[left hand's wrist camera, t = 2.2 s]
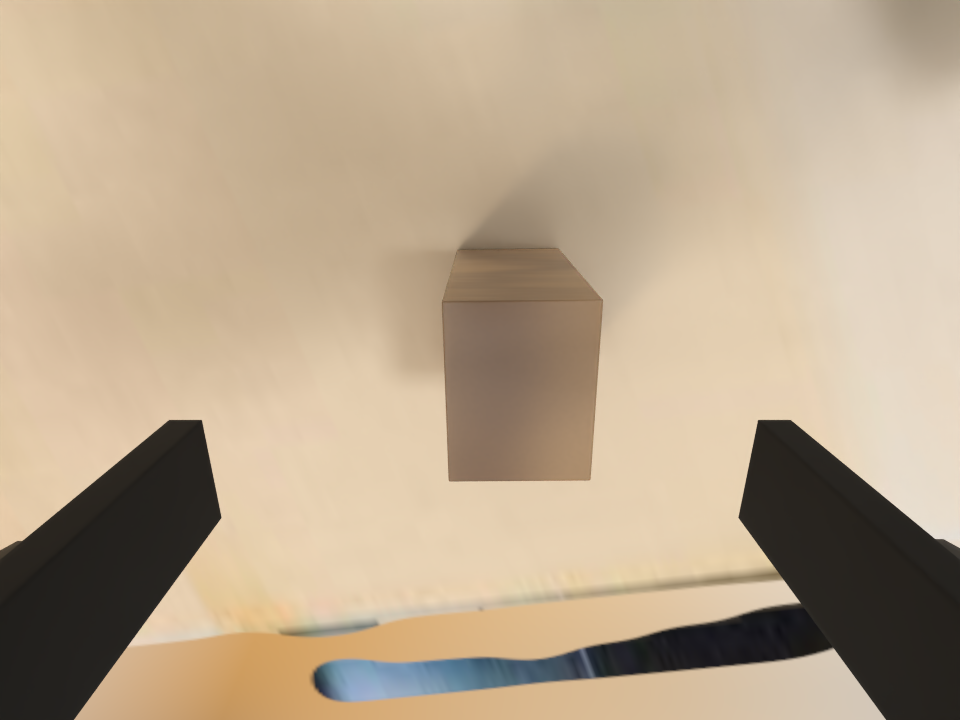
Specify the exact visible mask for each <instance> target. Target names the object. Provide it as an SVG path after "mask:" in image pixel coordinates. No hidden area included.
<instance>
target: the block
mask: <svg viewBox="0 0 960 720" xmlns="http://www.w3.org/2000/svg"><path fill="white" fill-rule="evenodd" d="M602 307H603V300H602V299H601V297H600V296H599V295H598V294H597V293H596V292H595V290H594V289H593V288H592V287H591V286H590V285H589V283H588V282H587V281H586V280H585V279H584V278H583V277H582V275H581V274H580V273H579V272H578V271H577V270H576V268H575V267H574V266H573V265H572V264H571V263H570V261H569V260H568V259H567V258H566V257H565V256H564V254H563V253H562V252H561V251H560V250H559V249H481V250H457V253H456V257H455V260H454V263H453V267H452V270H451V274H450V277H449V280H448V284H447V287H446V291H445V294H444V297H443V301H442V316H443V342H444V368H445V394H446V420H447V446H448V472H449V481H567V480H590V478H591V463H592V449H593V435H594V421H595V406H596V392H597V378H598V364H599V350H600V335H601V321H602Z"/></svg>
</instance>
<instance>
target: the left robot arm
mask: <svg viewBox="0 0 960 720" xmlns="http://www.w3.org/2000/svg"><path fill="white" fill-rule="evenodd" d="M220 519H221V513H220V508H219V503H218V498H217V493H216V488H215V483H214V478H213V473H212V468H211V463H210V458H209V453H208V449H207V444H206V439H205V434H204V429H203V424H202V420H169V421H168V422H166V423H165V424H164V425H163V426H162V427H160V428H159V429H158V430H157V431H155V432H154V433H153V434H152V435H151V436H149V437H148V438H147V439H146V440H145V441H143V442H142V443H141V444H140V445H139V446H137V447H136V448H135V449H134V450H132V451H131V452H130V453H129V454H128V455H126V456H125V457H124V458H123V459H122V460H120V461H119V462H118V463H117V464H115V465H114V466H113V467H112V468H111V469H109V470H108V471H107V472H106V473H105V474H103V475H102V476H101V477H100V478H98V479H97V480H96V481H95V482H94V483H92V484H91V485H90V486H89V487H88V488H86V489H85V490H84V491H83V492H81V493H80V494H79V495H78V496H77V497H75V498H74V499H73V500H72V501H71V502H69V503H68V504H67V505H66V506H64V507H63V508H62V509H61V510H60V511H58V512H57V513H56V514H55V515H54V516H52V517H51V518H50V519H49V520H48V521H46V522H45V523H44V524H43V525H41V526H40V527H39V528H38V529H37V530H35V531H34V532H33V533H32V534H31V535H29V536H28V537H27V538H26V539H24V540H23V541H17V542H15V543H13V544H11V545H9V546H8V547H6V548H4V549H2V550H0V720H74V719H75V717H76V716H77V715H78V713H79V712H80V711H81V709H82V708H83V707H84V705H85V704H86V702H87V701H88V700H89V698H90V697H91V696H92V694H93V693H94V691H95V690H96V689H97V687H98V686H99V685H100V683H101V682H102V681H103V679H104V678H105V676H106V675H107V674H108V672H109V671H110V669H111V668H112V667H113V665H114V664H115V663H116V661H117V660H118V659H119V657H120V656H121V655H122V653H123V652H124V650H125V649H126V648H127V646H128V645H129V644H130V642H131V641H132V639H133V638H134V637H135V635H136V634H137V633H138V631H139V630H140V629H141V627H142V626H143V624H144V623H145V622H146V620H147V619H148V618H149V616H150V615H151V613H152V612H153V611H154V609H155V608H156V607H157V605H158V604H159V603H160V601H161V600H162V598H163V597H164V596H165V594H166V593H167V592H168V590H169V589H170V587H171V586H172V585H173V583H174V582H175V581H176V579H177V578H178V577H179V575H180V574H181V572H182V571H183V570H184V568H185V567H186V566H187V564H188V563H189V561H190V560H191V559H192V557H193V556H194V555H195V553H196V552H197V551H198V549H199V548H200V546H201V545H202V544H203V542H204V541H205V540H206V538H207V537H208V535H209V534H210V533H211V531H212V530H213V529H214V527H215V526H216V525H217V523H218V522H219V520H220ZM739 519H740V520H741V522H742V523H743V525H744V526H745V527H746V529H747V530H748V531H749V533H750V534H751V535H752V537H753V538H754V540H755V541H756V542H757V544H758V545H759V546H760V548H761V549H762V551H763V552H764V553H765V555H766V556H767V557H768V559H769V560H770V561H771V563H772V564H773V566H774V567H775V568H776V570H777V571H778V572H779V574H780V575H781V577H782V578H783V579H784V581H785V582H786V583H787V585H788V586H789V587H790V589H791V590H792V592H793V593H794V594H795V596H796V597H797V598H798V600H799V601H800V603H801V604H802V605H803V607H804V608H805V609H806V611H807V612H808V613H809V615H810V616H811V618H812V619H813V620H814V622H815V623H816V624H817V626H818V627H819V629H820V630H821V631H822V633H823V634H824V635H825V637H826V638H827V639H828V641H829V642H830V644H831V645H832V646H833V648H834V649H835V650H836V652H837V653H838V655H839V656H840V657H841V659H842V660H843V661H844V663H845V664H846V665H847V667H848V668H849V670H850V671H851V672H852V674H853V675H854V676H855V678H856V679H857V681H858V682H859V683H860V685H861V686H862V687H863V689H864V690H865V691H866V693H867V694H868V696H869V697H870V698H871V700H872V701H873V702H874V704H875V705H876V706H877V708H878V709H879V711H880V712H881V713H882V715H883V716H884V717H885V719H886V720H960V548H958V547H957V546H955V545H953V544H951V543H949V542H947V541H946V540H944V539H934V538H933V537H932V536H931V535H929V534H928V533H927V532H926V531H925V530H923V529H922V528H921V527H920V526H919V525H917V524H916V523H915V522H914V521H912V520H911V519H910V518H909V517H908V516H906V515H905V514H904V513H903V512H902V511H900V510H899V509H898V508H897V507H896V506H894V505H893V504H892V503H891V502H889V501H888V500H887V499H886V498H885V497H883V496H882V495H881V494H880V493H879V492H877V491H876V490H875V489H874V488H872V487H871V486H870V485H869V484H868V483H866V482H865V481H864V480H863V479H862V478H860V477H859V476H858V475H857V474H855V473H854V472H853V471H852V470H851V469H849V468H848V467H847V466H846V465H845V464H843V463H842V462H841V461H840V460H838V459H837V458H836V457H835V456H834V455H832V454H831V453H830V452H829V451H828V450H826V449H825V448H824V447H823V446H821V445H820V444H819V443H818V442H817V441H815V440H814V439H813V438H812V437H811V436H809V435H808V434H807V433H806V432H805V431H803V430H802V429H801V428H800V427H798V426H797V425H796V424H795V423H794V422H792V421H791V420H758V424H757V429H756V434H755V439H754V444H753V449H752V453H751V458H750V463H749V468H748V473H747V478H746V483H745V488H744V493H743V498H742V503H741V508H740V513H739Z"/></svg>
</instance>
